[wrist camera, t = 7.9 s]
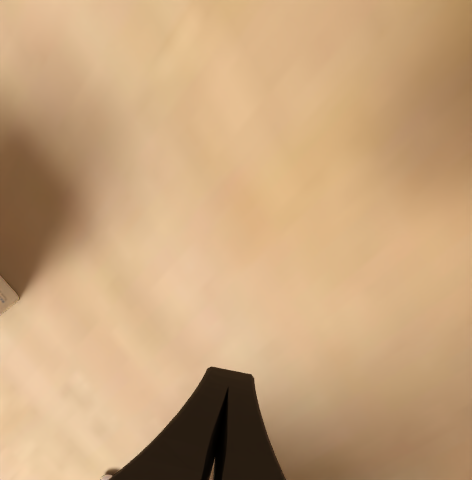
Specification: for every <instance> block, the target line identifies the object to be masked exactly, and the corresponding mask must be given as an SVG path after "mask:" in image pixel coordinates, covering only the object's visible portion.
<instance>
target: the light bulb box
mask: <svg viewBox="0 0 472 480" xmlns="http://www.w3.org/2000/svg"><path fill="white" fill-rule="evenodd" d="M18 300H19V297H18V295H17V294H16V292H15V291H14V290H13V289H12V288H11V287H10V286H9V285H8V284H7V282H6V281H5V280H4V279H3V278H2V277H1V276H0V315H1V314H2V313H4V312H5V311H6V310H7V309H9V308H10V307H11V306H13V305H14V304H15V303H16V302H17V301H18Z"/></svg>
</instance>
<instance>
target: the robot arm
mask: <svg viewBox="0 0 472 480" xmlns="http://www.w3.org/2000/svg"><path fill="white" fill-rule="evenodd" d="M214 459H215V464H214V475H213V480H286V479H285V477H284V474H283V472H282V470H281V468H280V466H279V463H278V461H277V458H276V456H275V453H274V451H273V448H272V446H271V443H270V440H269V438H268V435H267V432H266V429H265V425H264V422H263V419H262V416H261V412H260V409H259V405H258V400H257V396H256V391H255V384H254V378H253V376H252V375H251V374H246V373H241V372H236V371H231V370H226V369H221V368H216V367H210V368H208V369H207V370H206V373H205V375H204V377H203V378H202V380H201V382H200V383H199V385H198V387H197V388H196V390H195V391H194V393H193V394H192V395H191V397H190V398H189V399H188V401H187V402H186V403H185V405H184V406H183V407H182V409H181V410H180V411H179V412H178V414H177V415H176V416H175V417H174V418H173V419H172V420H171V422H170V423H169V424H168V425H167V426H166V427H165V428H164V430H163V431H162V432H161V433H160V434H159V435H158V436H157V437H156V438H155V439H154V440H153V441H152V442H151V443H150V444H149V445H148V446H147V447H146V448H145V449H144V450H143V451H142V452H141V453H140V454H138V455H137V456H136V457H135V458H134V459H133V460H132V461H130V462H129V463H128V464H127V465H126V466H125V467H123V468H122V469H121V470H120V471H119V472H117V473H116V474H115V475H114V476H113V475H103V476H102V477H101V479H100V480H209V477H210V473H211V470H212V466H213V463H214Z"/></svg>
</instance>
